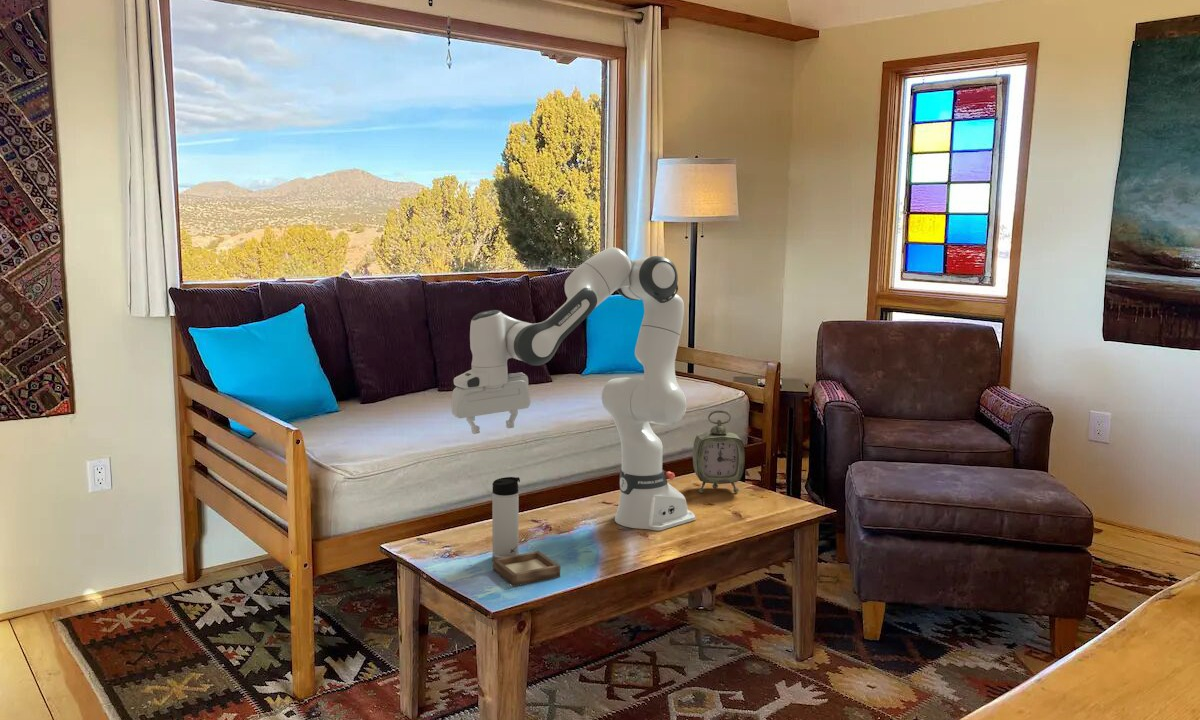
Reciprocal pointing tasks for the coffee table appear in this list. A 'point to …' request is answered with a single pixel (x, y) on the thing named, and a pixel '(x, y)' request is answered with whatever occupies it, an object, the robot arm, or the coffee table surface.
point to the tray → (526, 568)
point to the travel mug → (505, 517)
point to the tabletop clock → (718, 455)
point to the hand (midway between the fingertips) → (493, 430)
